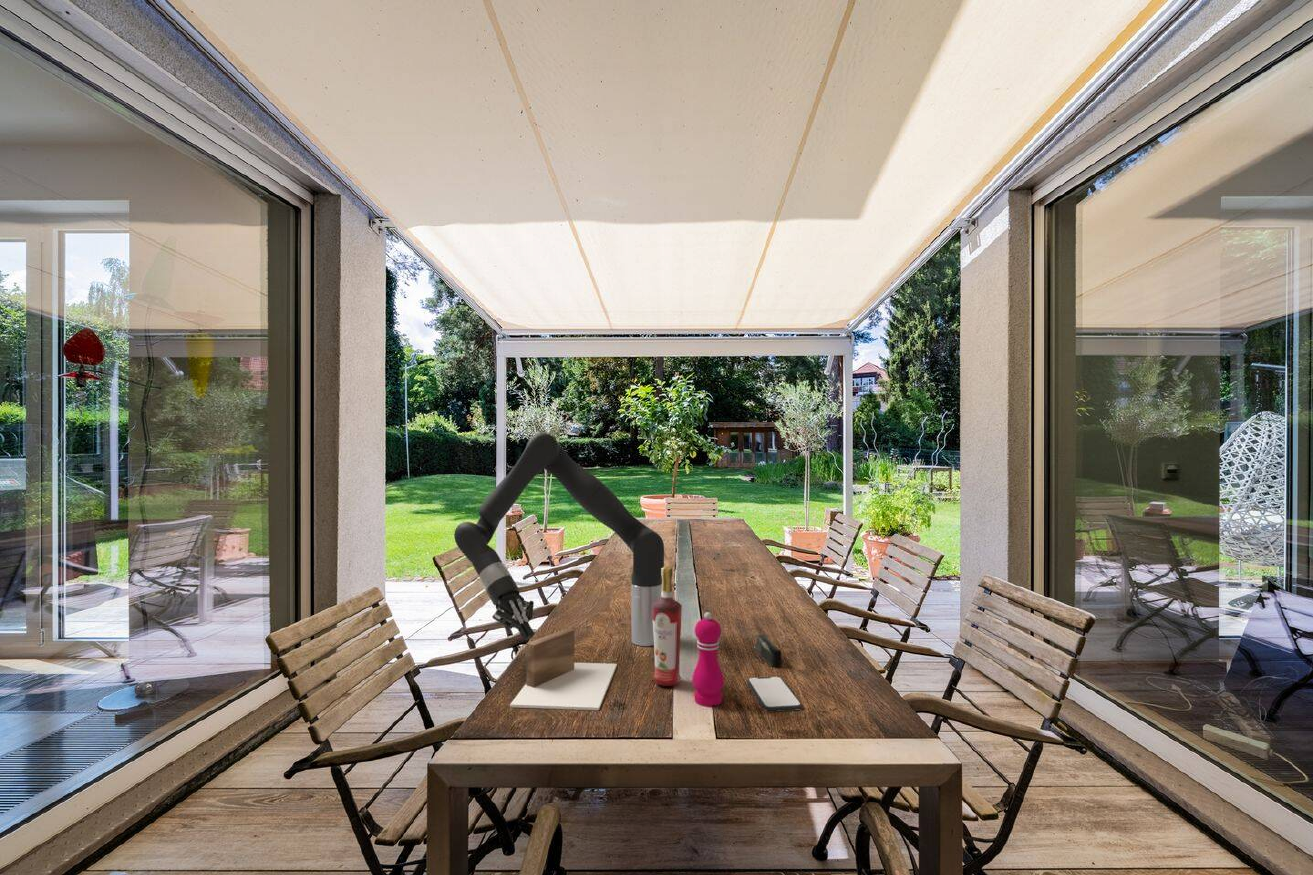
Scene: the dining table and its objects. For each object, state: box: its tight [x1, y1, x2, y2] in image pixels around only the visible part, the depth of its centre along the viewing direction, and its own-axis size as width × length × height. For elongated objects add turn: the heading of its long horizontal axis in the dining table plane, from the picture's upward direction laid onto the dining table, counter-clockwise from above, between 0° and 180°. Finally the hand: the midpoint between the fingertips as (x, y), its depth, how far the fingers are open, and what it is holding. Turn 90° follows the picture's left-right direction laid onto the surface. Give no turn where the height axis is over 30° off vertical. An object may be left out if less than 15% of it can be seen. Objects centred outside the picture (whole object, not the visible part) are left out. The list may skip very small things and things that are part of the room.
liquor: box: [652, 566, 683, 687], centre depth 142 cm, size 7×7×28 cm
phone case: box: [746, 676, 803, 712], centre depth 134 cm, size 9×2×16 cm
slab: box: [525, 628, 575, 688], centre depth 144 cm, size 3×14×10 cm, turn 145°
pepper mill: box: [692, 611, 725, 707], centre depth 132 cm, size 7×7×20 cm
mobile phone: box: [753, 634, 782, 668], centre depth 159 cm, size 5×3×15 cm
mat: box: [509, 662, 618, 711], centre depth 140 cm, size 20×26×1 cm
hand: (529, 637), depth 148 cm, fingers closed
